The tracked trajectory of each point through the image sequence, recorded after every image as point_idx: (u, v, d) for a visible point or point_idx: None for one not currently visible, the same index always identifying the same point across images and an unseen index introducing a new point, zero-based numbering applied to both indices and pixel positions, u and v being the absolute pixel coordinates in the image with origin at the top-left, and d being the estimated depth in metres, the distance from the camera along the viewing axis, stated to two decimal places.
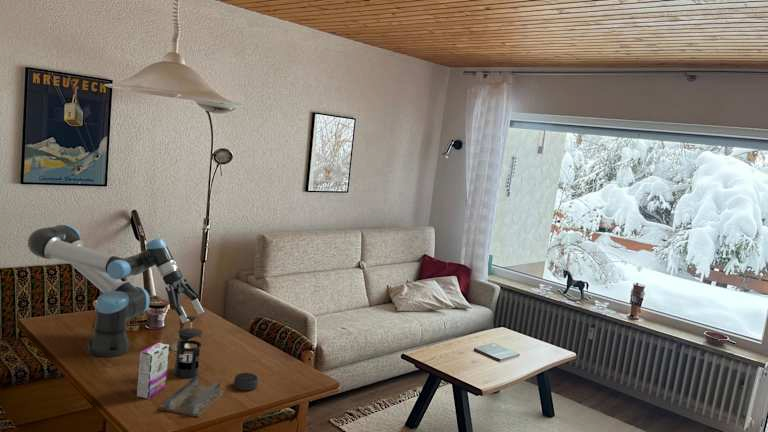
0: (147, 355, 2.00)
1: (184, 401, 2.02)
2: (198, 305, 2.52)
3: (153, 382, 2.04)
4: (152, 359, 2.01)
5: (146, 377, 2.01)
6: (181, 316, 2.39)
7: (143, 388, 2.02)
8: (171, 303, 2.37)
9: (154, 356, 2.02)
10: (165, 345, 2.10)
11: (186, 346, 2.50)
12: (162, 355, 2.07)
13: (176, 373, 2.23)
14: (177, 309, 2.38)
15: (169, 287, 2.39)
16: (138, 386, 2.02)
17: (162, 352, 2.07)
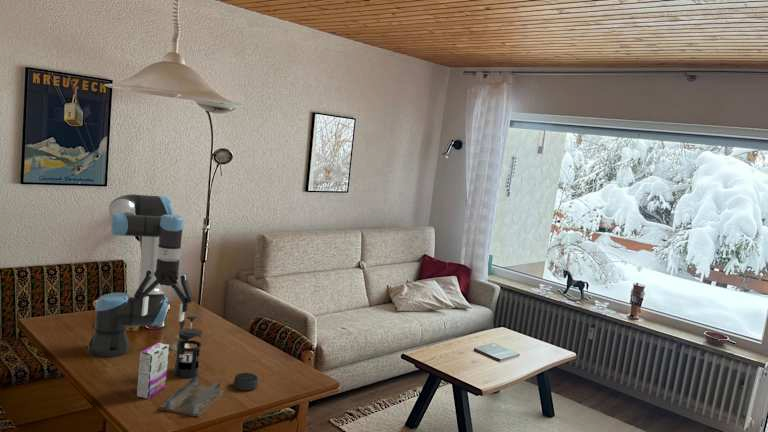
0: (147, 355, 2.00)
1: (184, 401, 2.02)
2: None
3: (153, 382, 2.04)
4: (152, 359, 2.01)
5: (146, 377, 2.01)
6: None
7: (143, 388, 2.02)
8: None
9: (154, 356, 2.02)
10: (165, 345, 2.10)
11: (186, 346, 2.50)
12: (162, 355, 2.07)
13: (176, 373, 2.23)
14: None
15: None
16: (138, 386, 2.02)
17: (162, 352, 2.07)
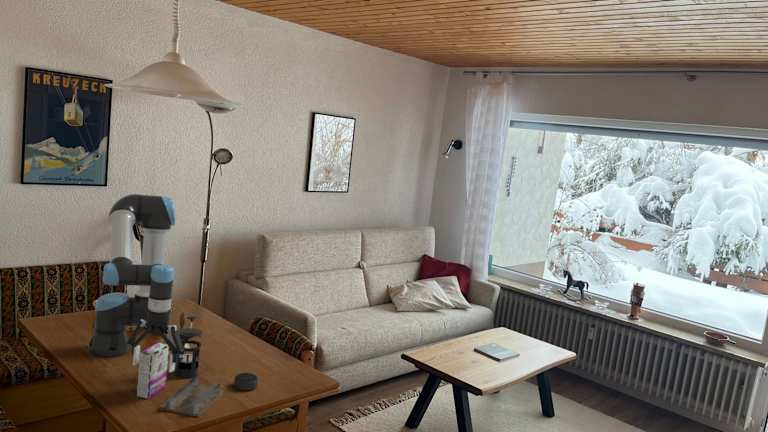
0: (147, 355, 2.00)
1: (184, 401, 2.02)
2: None
3: (153, 382, 2.04)
4: (152, 359, 2.01)
5: (146, 377, 2.01)
6: None
7: (143, 388, 2.02)
8: None
9: (154, 356, 2.02)
10: (165, 345, 2.10)
11: (186, 346, 2.50)
12: (162, 355, 2.07)
13: (176, 373, 2.23)
14: None
15: None
16: (138, 386, 2.02)
17: (162, 352, 2.07)
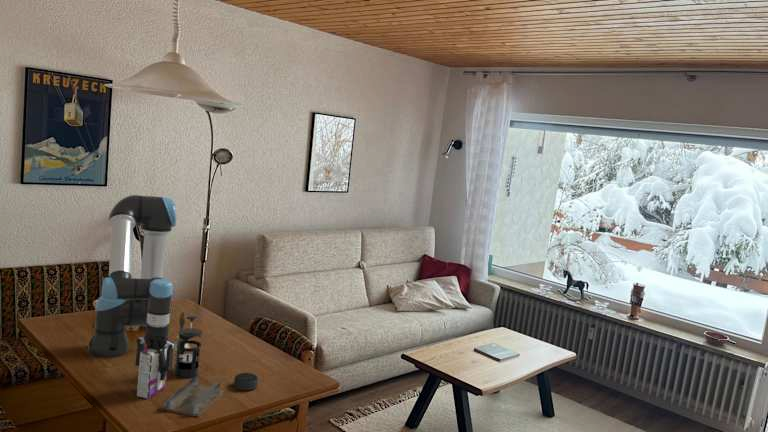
0: (147, 355, 2.00)
1: (184, 401, 2.02)
2: None
3: (153, 382, 2.04)
4: (152, 359, 2.01)
5: (146, 377, 2.01)
6: None
7: (143, 388, 2.02)
8: None
9: (154, 356, 2.02)
10: (165, 345, 2.10)
11: (186, 346, 2.50)
12: None
13: (176, 373, 2.23)
14: None
15: None
16: (138, 386, 2.02)
17: None
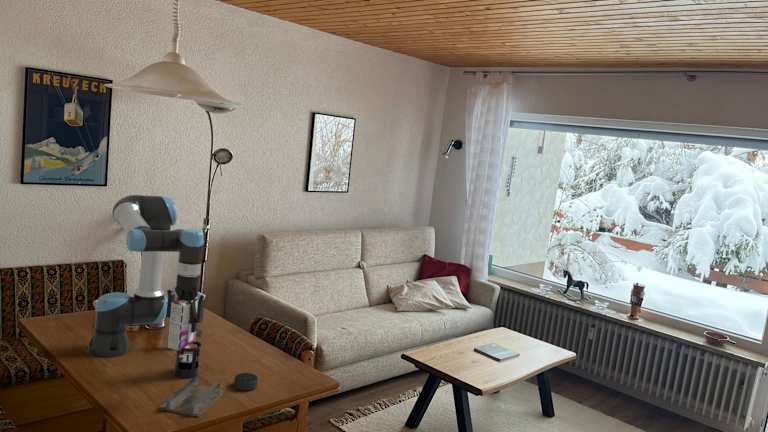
0: (179, 305, 1.97)
1: (184, 401, 2.02)
2: None
3: (184, 334, 2.00)
4: (184, 310, 1.97)
5: (178, 328, 1.97)
6: None
7: (174, 339, 1.98)
8: None
9: (185, 307, 1.98)
10: (196, 297, 2.06)
11: (186, 346, 2.50)
12: None
13: (176, 373, 2.23)
14: None
15: None
16: (169, 337, 1.98)
17: None
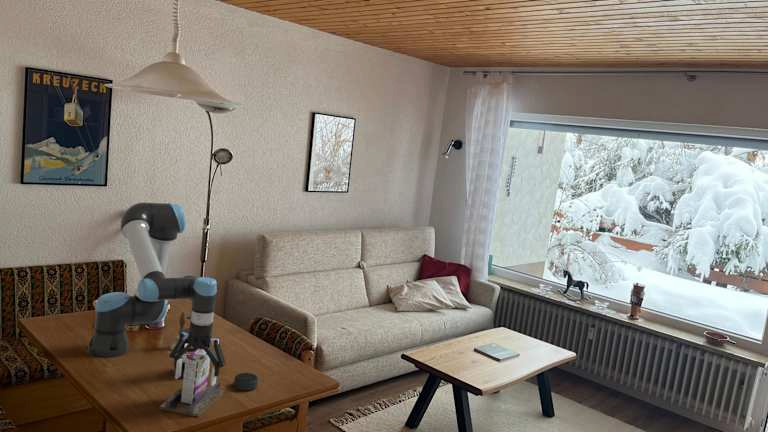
0: (193, 361, 1.98)
1: None
2: None
3: (198, 388, 2.02)
4: (198, 365, 1.99)
5: (192, 383, 1.99)
6: None
7: (188, 393, 2.00)
8: None
9: (200, 362, 2.00)
10: None
11: None
12: (205, 360, 2.05)
13: None
14: (175, 360, 2.05)
15: None
16: (182, 392, 2.00)
17: (206, 358, 2.05)
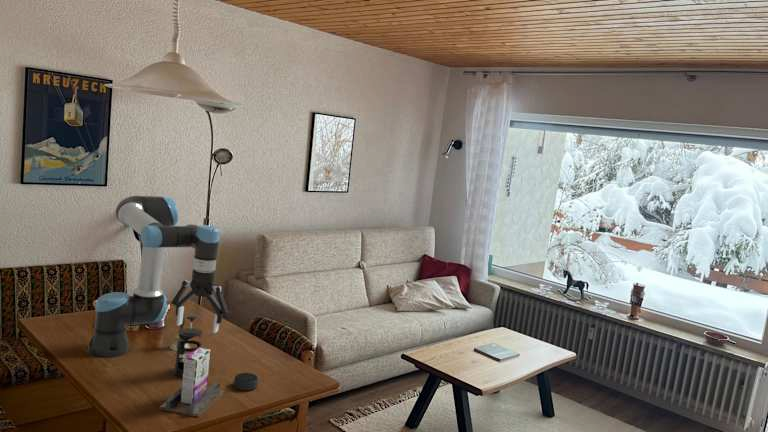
0: (192, 361, 1.98)
1: None
2: None
3: (197, 388, 2.02)
4: (197, 365, 1.99)
5: (191, 383, 1.99)
6: None
7: (187, 394, 2.00)
8: None
9: (199, 362, 2.00)
10: (207, 350, 2.08)
11: (186, 346, 2.50)
12: (204, 360, 2.05)
13: (176, 373, 2.23)
14: None
15: None
16: (182, 392, 2.00)
17: (205, 357, 2.05)
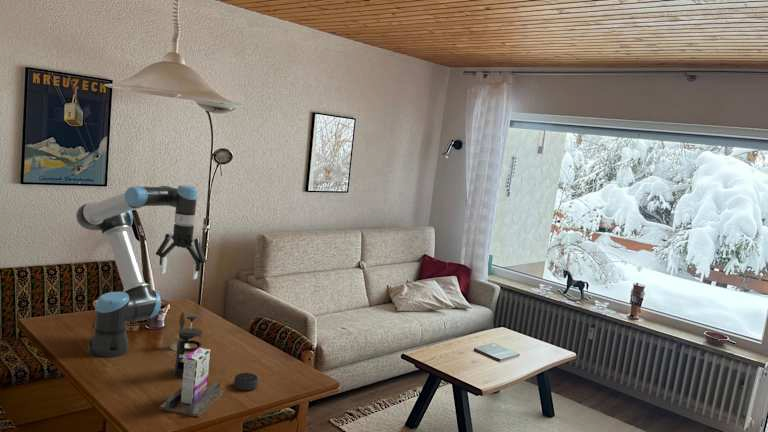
0: (192, 361, 1.98)
1: None
2: None
3: (197, 388, 2.02)
4: (197, 365, 1.99)
5: (191, 383, 1.99)
6: None
7: (187, 394, 2.00)
8: None
9: (199, 362, 2.00)
10: (207, 350, 2.08)
11: (186, 346, 2.50)
12: (204, 360, 2.05)
13: (176, 373, 2.23)
14: None
15: None
16: (182, 392, 2.00)
17: (205, 357, 2.05)
